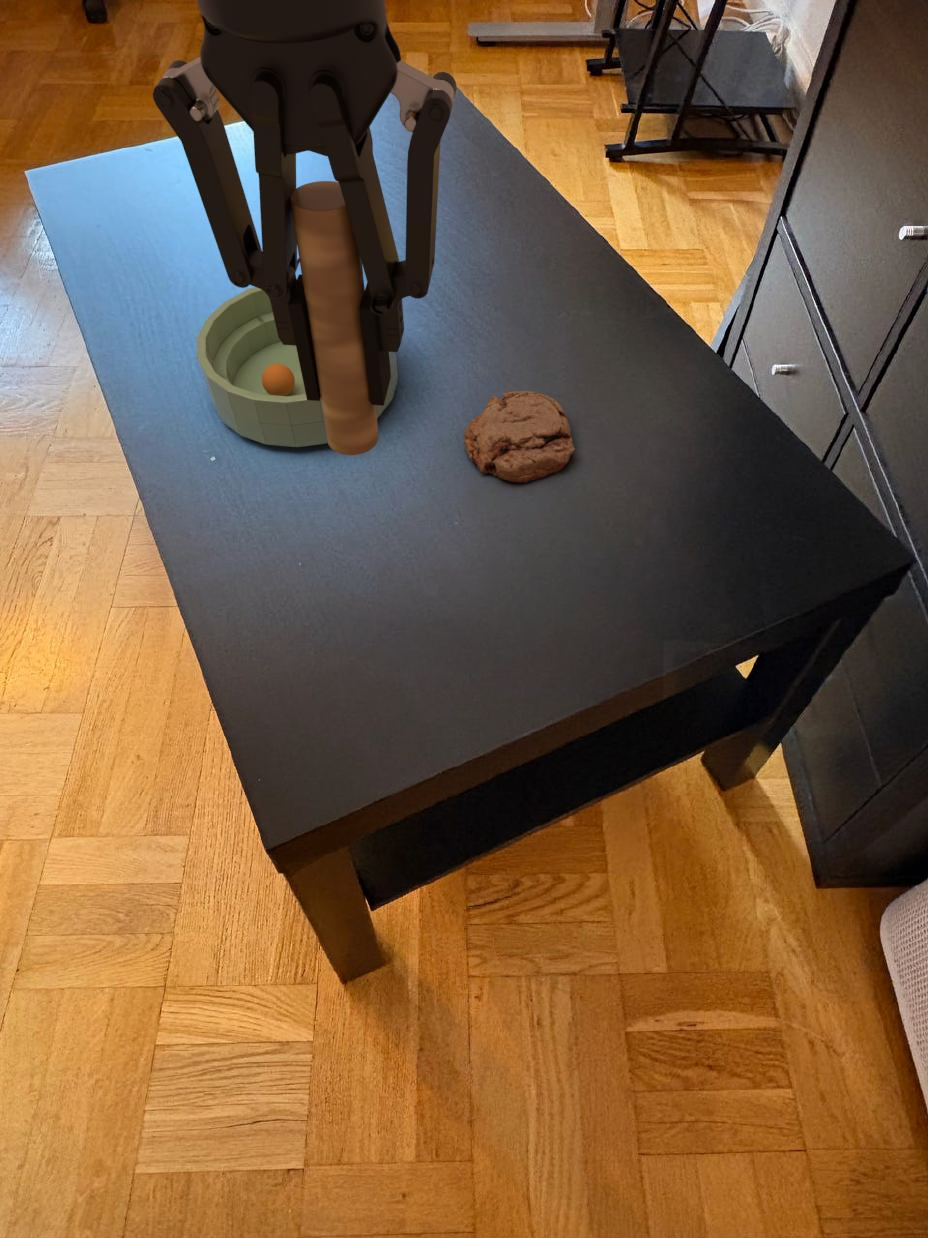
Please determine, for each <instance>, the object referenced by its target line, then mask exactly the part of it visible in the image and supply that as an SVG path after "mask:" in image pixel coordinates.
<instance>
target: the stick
mask: <svg viewBox="0 0 928 1238" xmlns="http://www.w3.org/2000/svg"><path fill="white" fill-rule="evenodd" d="M290 202H291V208H292V215H293V221H294V228H295V234H296V241H297V255H298V258H299V260H300V262H299V265H300V274H301V275H302V279H303V286H304V292H305V299H306V305H307V312H308V318H309V325H310V331H311V338H312V344H313V351H314V357H315V363H316V370H317V376H318V383H319V389H320V396H321V402H322V409H323V415H324V422H325V428H326V435H327V441H328V443H327V444H328V446H329V448H330V449H331V450H333V451H334V452H335V453H338V454H340V455H345V456H358V455H362V454H365V453H367V452H369V451H371V450H372V449H374V447H375V446H376V445H377V444H378V442H379V439H380V438H379V437H380V436H379V428H378V427H379V426H378V418H377V415H376V405H371V399H370V391H369V383H368V375H367V367H366V359H365V351H364V343H363V335H362V327H361V319H360V311H359V308H360V305H361V302H362V298H363V296H364V293H365V288H366V287H365V279H364V268H363V265H362V261H361V258H360V254H359V251H358V247H357V244H356V240H355V237H354V233H353V230H352V226H351V223H350V219H349V216H348V212H347V209H346V205H345V202H344V198H343V195H342V191H341V188H340V184H339V182H338V181H333V180H319V181H311V182H308V183H304V184H301V185H299V186H298V187H296V189H295V190H294V191H293V193H292V195H291V197H290Z"/></svg>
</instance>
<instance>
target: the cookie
mask: <svg viewBox="0 0 928 1238" xmlns="http://www.w3.org/2000/svg"><path fill="white" fill-rule="evenodd" d="M571 432H572V431H571V426H570V424H569V421H568V416H567V414H566V411H565V409H564V408H563V407H562V406H561V404H560V403H559V402H558V401H557V400H556V399H555V398H552V397H551V396H548V395H546V394H543V393H541V392H540V393H539V392H535V391H532V390H522V391H521V390H520V391H519V390H517V391H516V390H512V391H509V392H504V393H503V394H502V398H500V397H498V396H496V395H493V396H491V397H490V399H489V401H488V402H487V403H486V406H485V409H484V410H483V412H482V413H481V414H479V415H478V416H476V417H474V418H473V419H472V420H471V421H470V423H469V424H468V425H467V426H466V428H465V429H464V433H463V439H464V441H463V444H464V448H465V451H466V454H467V455H468V458H469V460H470V461H471V462H472V463H473V465H476V468H477V469H479V472H480V473H482V474H488V473H489V474H493V476H494V477H495V476H497V478H498V479H500V480H505V481H508V482H510V483H511V482H512V483H517V484H518V483H527V484H528V482H529V481H536V480H537V479H541V478H544V477H547V476H548V475H551V474H553V473H555V474H557V473H558V472H559V471H561V470H562V469H564V467H565V466H566V464H567V463H568V462H569V460H570V457H571V456H572V455H573V453H574V452H575V449H576V448H575V446H574V444H573V437H572V436H571ZM568 464H569V463H568Z"/></svg>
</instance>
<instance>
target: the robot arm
mask: <svg viewBox="0 0 928 1238" xmlns="http://www.w3.org/2000/svg"><path fill="white" fill-rule="evenodd" d="M196 3H197V8H198V10H199V13H200V15H201V19H202V22H203V23H202V24H203V38H202V42H201V45H200V50H199V56H198V57H196V58H194V59H193V60H191V61H189V62H187V61H184V60H181V59H178V60H174V61H172V63H171V64H170V65H169V67H168V68H167V69H166V70H165V72H164V74H163V75H162V77H161V78H160V80H159V81H158V83H156V85H155V87H154V89H153V92H152V99H153V101H154V104H155V105H156V107H157V109H158V110H159V111H160V113H161V114H162V116H163V117H164V119H165V120H166V122H167V123H168V124H169V126H170V127H171V129H172V131H173V132H174V133H175V135H176V136H177V138H178V139H179V140H180V142H181V145H182V148H183V151H184V154H185V157H186V159H187V162H188V165H189V167H190V172H191V173H192V177H193V180H194V182H195V186H196V187H197V192H198V194H199V197H200V200H201V202H202V206H203V209H204V211H205V214H206V217H207V219H208V223H209V226H210V228H211V232H212V234H213V237H214V240H215V244H216V246H217V249H218V252H219V254H220V255H219V256H220V257H221V260H222V264H223V266H224V269H225V272H226V274H227V278H228V279H229V281H230V282H231V284H232V285H233V286H235V287H237V288H241V289H244V288H248V287H249V286H252V287H257V288H259V289H261V290H263V291H264V292H265V293H266V294H267V295H268V297H269V299H270V302H271V306H272V311H273V315H274V320H275V324H276V328H277V334H278V337H279V339H280V340H281V342H282V343H283V345H294V346H296V348H297V353H298V358H299V363H300V368H301V373H302V378H303V383H304V388H305V393H306V398H307V400H313V401H320V397H321V396H320V389H319V383H318V376H317V370H316V363H315V357H314V351H313V344H312V338H311V331H310V325H309V318H308V312H307V305H306V299H305V292H304V286H303V279H302V273H299V274H298V276H297V275H296V273H297V270H298V267H299V265H300V260H299V257H298V247H297V241H296V234H295V228H294V221H293V215H292V208H291V202H290V197H291V195H292V193H293V191H294V190H295V189H296V188H297V154H299V153H303V152H310V153H311V152H312V153H315V154H317V155H321V156H323V157H327V159H328V161H329V166H330V170H331V173H332V176H333V179H334V180H335V182H339V184H340V188H341V191H342V195H343V198H344V202H345V205H346V209H347V212H348V216H349V219H350V223H351V226H352V230H353V233H354V237H355V240H356V244H357V247H358V251H359V254H360V258H361V261H362V267H363V273H364V276H365V278H366V286H365V287H364V288H365V293H364V296H363V298H362V302H361V305H360V308H359V311H360V319H361V327H362V335H363V343H364V351H365V359H366V367H367V375H368V383H369V391H370V399H371V405H381V406H384V402H385V398H386V394H387V390H388V386H389V382H390V378H391V369H390V359H389V352H396V353H399V350H400V347H401V345H402V340H403V336H404V333H405V332H404V331H405V323H404V307H403V299H404V298H407V297H411V298H413V299H418V300H419V299H423V298H425V297H426V296H427V295H428V292H429V289H430V285H431V279H432V276H433V271H434V267H435V257H436V239H437V221H438V218H437V217H438V197H439V178H440V159H441V139H442V137H443V135H444V132H445V131H446V129H447V126H448V123H449V120H450V117H451V113H452V108H453V106H454V101H455V97H456V94H457V89H458V87H457V82H456V80H455V78H454V76H453V75H451V74H450V73H449V72H445V71H438V72H437V73H435V74H433V76H431V75H428V74H426V73H425V72H423V71H421V70H420V69H417V68H416V67H415V66H412V65H411V64H408V63H407V62H405V61H403V60H402V57H401V56H402V55H401V51H400V47H399V45H398V43H397V41H396V39H395V37H394V36H393V34H392V32H391V29H390V26H389V23H388V20H387V11H386V0H196ZM218 93H219V94H220V95H221V96H222V97H223V98H224V100H226V101H227V103H228V104H229V105H230V106H231V107H232V109H233V110H234V111H235V112H236V113H237V114H238V115H239V117H240V118H241V119H242V120H243V122H244V123H245V124H246V125H247V126H248V128H249V129H250V130H251V131H252V132H253V149H254V150H253V151H254V166H255V172H256V173H257V174H258V188H259V189H258V190H259V207H260V208H259V209H260V229H261V243H260V239H259V236H258V233H257V230H256V227H255V223H254V220H253V217H252V213H251V210H250V208H249V204H248V201H247V200H248V199H247V197H246V193H245V190H244V187H243V183H242V179H241V177H240V174H239V170H238V167H237V164H236V160H235V157H234V153H233V151H232V147H231V144H230V140H229V138H228V137H229V136H228V134H227V130H226V128H225V124H224V122H223V121H224V120H223V118H222V115H221V114H220V111H219V109H218V108H219V106H220V96H219V94H218ZM390 94H392V95H393V96H394V97H395V98H396V99H397V101H398V104H399V119H400V122H401V125H402V126H403V127H404V128H405V130H406V131H407V132H410V133H411V136H410V137H411V138H410V140H409V145H408V150H407V159H406V160H407V161H406V207H405V209H406V211H405V212H406V213H405V214H406V216H405V259H404V260H401V261H400V258H399V254H398V250H397V246H396V241H395V238H394V234H393V229H392V225H391V222H390V221H391V220H390V217H389V214H388V210H387V209H388V208H387V205H386V202H385V197H384V193H383V189H382V185H381V181H380V176H379V173H378V168H377V165H376V161H375V160H376V159H375V157H374V142H373V135H372V131H371V125H372V124H373V122H374V121H375V119H376V117H377V115H378V114H379V112H380V110H381V109H382V107H383V105H384V104H385V102H386V100H387V99H388V97H389V96H390ZM261 246H262V247H261ZM296 278H297V279H296Z"/></svg>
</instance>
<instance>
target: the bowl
mask: <svg viewBox="0 0 928 1238" xmlns="http://www.w3.org/2000/svg"><path fill="white" fill-rule="evenodd" d="M297 278H298V277H296V279H297ZM196 359H197V363H198V365H199V368H200V371H201V374H202V377H203V379H204V380H203V381H204V383H205V386H206V391H207V393H208V396H209V398H210V402H211V404H212V406H213V408H214V410H215V412H216V413H217V415H218V417H219V419H220V420H221V422H222V423H224V424H225V425H226V426H228V427H229V428H231V430H233V431H234V432H235V433H236V434H238V435H239V436H241V437H243V438H246V439H249V440H252V441H254V442H258V443H260V444H263V445H267V446H276V447H277V446H278V447H290V448H301V447H311V446H316V445H317V446H318V445H324V444H328V441H327V435H326V428H325V422H324V415H323V409H322V402H321V397H320V401H313V400H307V398H306V393H305V388H304V383H303V378H302V373H301V368H300V363H299V358H298V353H297V348H296V346H294V345H283V343H282V342H281V340H280V339H279V337H278V334H277V328H276V324H275V320H274V315H273V311H272V306H271V302H270V299H269V297H268V295H267V294H266V293H265V292H264V291H263V290H261V289H259V288H257V287H254V286H252V287H250V288H247V289H245V290H244V291H241V292H240V293H238V294H236V295H234V296H233V297H231V298H229V299H228V300H227V299H226V301H224V302H222V303H221V304H220V305H219V306H218V307H217V308H216V309H215V310H214V311H213V312H211V314H210V315H209V316H207V318H206V319H205V320H204V323H203V325H202V327H201V329H200V330H199V333H198V335H197V337H196ZM389 359H390V369H391V378H390V382H389V386H388V390H387V394H386V398H385V402H384V406H381V405H376V415H377V419H378V418H379V417H380V416H381V415H382V414H383V412H384V411H385V410H386V408H387V407H388V406H389V404H390V403H391V402H392V401H393V399H394V397H395V392H396V389H397V384H398V380H399V375H398V373H399V372H398V362H397V352H389ZM273 364H282V365H285V366H286V367H288V368H289V369H290V370H291V371H292V373H293V375H294V379H295V384H294V388H293V390H292V391H291V393H289V394H288V395H287V396H276V395H270V394H269V393H267V392H266V390H265V389H264V387H263V385H262V375H263V372H264V370H265V369H266V368H267V367H268V366H270V365H273Z"/></svg>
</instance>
